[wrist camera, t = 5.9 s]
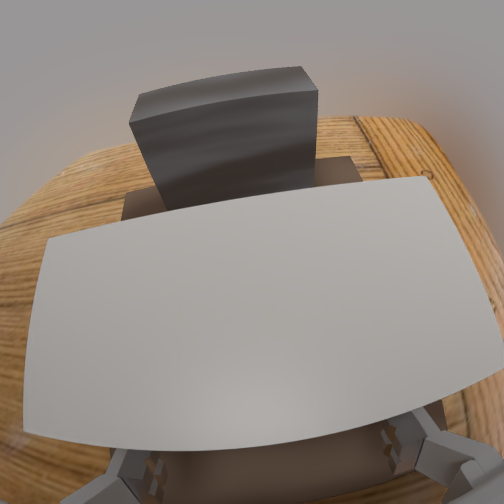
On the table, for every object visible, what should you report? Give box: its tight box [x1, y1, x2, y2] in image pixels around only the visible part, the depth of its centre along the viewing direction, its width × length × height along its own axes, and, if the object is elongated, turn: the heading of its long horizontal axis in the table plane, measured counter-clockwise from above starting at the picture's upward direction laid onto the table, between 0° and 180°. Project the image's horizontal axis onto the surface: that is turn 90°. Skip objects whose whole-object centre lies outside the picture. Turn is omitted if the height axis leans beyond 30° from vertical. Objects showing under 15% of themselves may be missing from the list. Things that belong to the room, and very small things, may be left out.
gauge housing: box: [23, 176, 504, 451], centre depth 11 cm, size 8×14×9 cm, turn 97°
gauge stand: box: [110, 66, 447, 504], centre depth 14 cm, size 22×18×10 cm
